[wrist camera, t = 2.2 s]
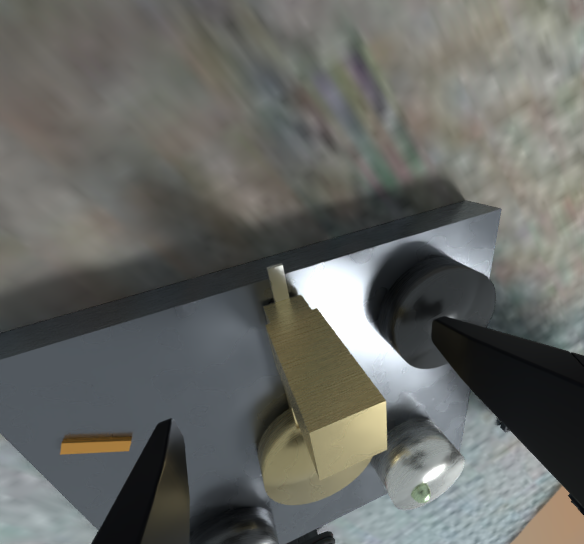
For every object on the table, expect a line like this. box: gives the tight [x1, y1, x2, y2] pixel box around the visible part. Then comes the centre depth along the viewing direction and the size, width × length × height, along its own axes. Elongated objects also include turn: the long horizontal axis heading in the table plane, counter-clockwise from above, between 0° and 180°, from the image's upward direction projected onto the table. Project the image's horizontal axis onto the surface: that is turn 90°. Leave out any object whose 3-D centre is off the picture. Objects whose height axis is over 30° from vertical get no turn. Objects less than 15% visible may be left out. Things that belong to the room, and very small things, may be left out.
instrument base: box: [0, 200, 501, 544], centre depth 16 cm, size 22×20×5 cm
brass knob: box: [257, 295, 387, 505], centre depth 12 cm, size 12×6×6 cm, turn 10°
